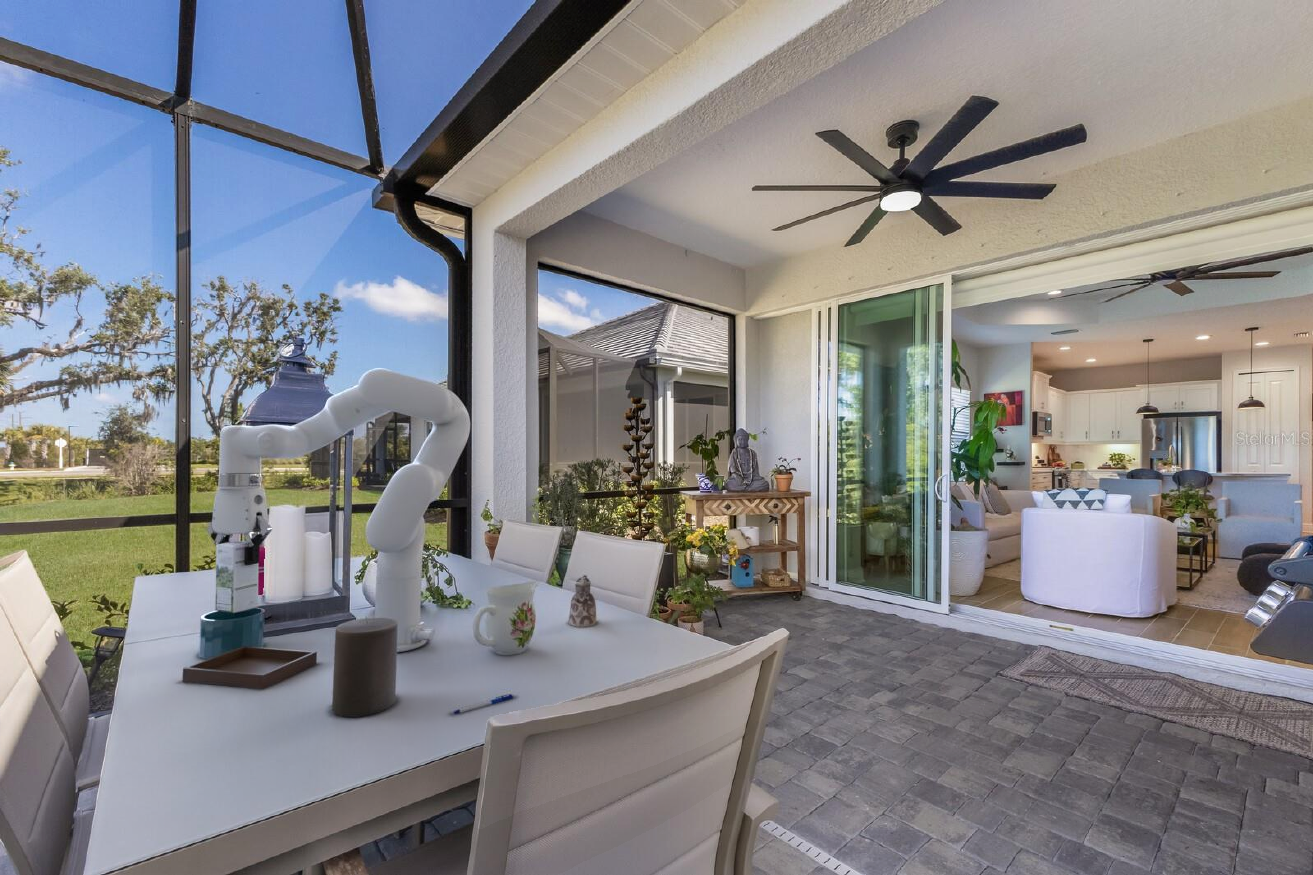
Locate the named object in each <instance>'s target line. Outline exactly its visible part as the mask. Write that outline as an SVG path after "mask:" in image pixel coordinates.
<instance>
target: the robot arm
mask: <svg viewBox="0 0 1313 875" xmlns="http://www.w3.org/2000/svg"><path fill="white" fill-rule="evenodd" d="M391 412H394V413H397V414H401V415H405V416H409V417H411V418H416V419H419V420H422V421H426V422H429V423H431V424H432V427H431V431H430V433H429V434H428V435H427V437H426V439H425V440H424V442H423V444H422V446H421V447H420V449H419V452H418V454H417V455H416V457H415V458H414V460H413V462H412V463H409V464H406V465H403V466H401V467H400V468H399V469H398V470H397V471H396V472H395V473H394V474H393V475H392V477H391V478H390V480H389V482H388V483H387V484H386V487H385V489H384V491H383V493H382V494H381V496H380V498H379V500H378V501H377V503H376V505H375V507H374V509H373V511H372V512H371V514H370V515H369V518H368V520H367V523H366V526H365V538H366V541H367V543H368V544H369V546H370V547H371V548H372V549H373V550H375V551H376V552H377V559H376V570H375V571H376V574H375V595H374V596H375V599H374V618H389V619H395V620H397V623H398V625H397V653H402V652H403V653H404V652H407V651H408V652H409V651H411V650H414V649H418V648H420V647H422V646H424V645H425V644H426V643H427V641H428V642H429V641H430V642H431V641H432V640H434V637H435V629H433V628H425V621H421V606H422V605H421V600H422V599H421V598H422V574H423V555H424V546H425V538H426V521H425V518H424V515H425V513H426V511H427V509H428V507H429V506H430V504H431V503H432V502H435V501H436V500H437V499H438V498H439V497H440V496H441V495H442V494H443V491H444V489H445V486H446V484H447V483H448V480H449V478H450V476H451V474H452V473H453V471H454V469H455V467H456V465H457V463H458V461H459V459H460V457H461V455H462V453H463V451H464V449H465V447H466V444H467V442H468V439H469V436H470V432H471V420H470V419H471V418H470V415H469V412H468V409H467V408H466V406H465V405H464V402H462V400H461V399H460V398H459V397H458V395H456V394H455V393H454V392H453V391H451V390H450V389H449V388H446V387H445V386H443V385H441V384H439V383H435V382H433V381H428V380H425V379H421V378H418V377H414V376H411V375H407V374H404V373H400V372H396V371H393V370H392V369H391V370H390V369H387V368H384V367H383V368H382V367H377V368H372V369H370V370H367V371H366V372H364V373H363V374H362V376H361V377H360V378H359V380H358V383H357V384H356V385H354V386H351V387H350V388H347V389H345V390H344V391H341V392H339V393H336V394H333V395H332V396H330V397H328V399H327V400H326V402H325V406H324V407H323V408H322V410H321V411H319V412H318V413H316V414H315V415H313V416H311V417H309V418H307V419H305V420H303V421H301V422H298V423H295V424H293V425H284V424H264V425H262V424H261V425H254V426H253V425H226V426H223V427H222V428H221V430H220V433H219V455H218V457H219V459H218V460H219V461H218V468H219V469H218V488H216V492H215V496H214V502H213V508H212V518H211V519H212V520H211V521H210V522H209V524H208V525H207V526H206V527H205V530H206V532H207V533H208V535H210V538H211V540H212V541H213V544H214V547H216V546H217V545H218V544H222V543H227V542H232V541H231V540H232V539H233V535H243V537H244V539H245V541H246V542H247V545H248V547H245V560H244V564H245V565H252V564H257V563H259V554H260V545H262V543H263V542H264V541H265V540H266V539H267V537H268V536H269V534H270V533H271V532H273V527H272V526H271V525H270V524H269V517H268V514H269V512H268V503H267V502H268V501H267V496H266V491H265V488H264V487H261V485H262V482H263V481H264V478H263V476H262V459H270V460H271V459H272V460H282V459H290V460H291V459H298V458H301V457H304V456H306V455H309V454H311V453H313V452H315V451H317V450H319V449H322V448H323V447H325V446H328V445H330V444H331V443H333V442H335V441H337V440H338V439H339V438H341V437H343V436H345V435H346V434H348V433H349V432H351V431H353V430H354V429H357V428H359V427H361V426H363V425H365V424H367V423H369V422H371V421H374V420H376V419H379V418H380V417H383V416H384V415H388V414H389V413H391Z"/></svg>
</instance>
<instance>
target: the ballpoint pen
mask: <svg viewBox="0 0 1313 875" xmlns="http://www.w3.org/2000/svg"><path fill="white" fill-rule="evenodd" d="M513 698H514V696H513V694H512V693H510V694H503V695H500V696H497V697H495V699H491V700H488V701H485V702H481V703H477V704H473V705H470V706H465V707H463V708H459V709H456V710H455V711H453V714H455V715H456V714H461V713H465V712H469V711H471V710H476V709H479V708H484V707H486V706H490V705H494V704H498V703H502V702H506V701H509V700H512V699H513Z"/></svg>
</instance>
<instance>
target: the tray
mask: <svg viewBox="0 0 1313 875" xmlns="http://www.w3.org/2000/svg"><path fill="white" fill-rule="evenodd" d="M317 660H318V651H311V650H300V649H287V648H273V647H264V646H263V647H250V646H243V647H240V648H238V649H235V650H232V651H229V652H227V653H224V654H221V655H218V656H216V657H213V658H210V659H204V660H202V661H199V662H197V663H193V664H191V665H188V666H186V667H183V668H182V680H181V682H183V683H190V684H191V683H192V684H193V683H194V684H204V685H214V686H225V687H235V688H247V689H258V690H264V689H265V688H268V687H270V686H272V685H274V684H277V683H279V682H281V681H283V680H285V679H287V678H289V677H292V676H294V675H297V674H298V673H300V672H303V671H304V670H307V669H308V668H311V667H313V666H315V665H317Z"/></svg>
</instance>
